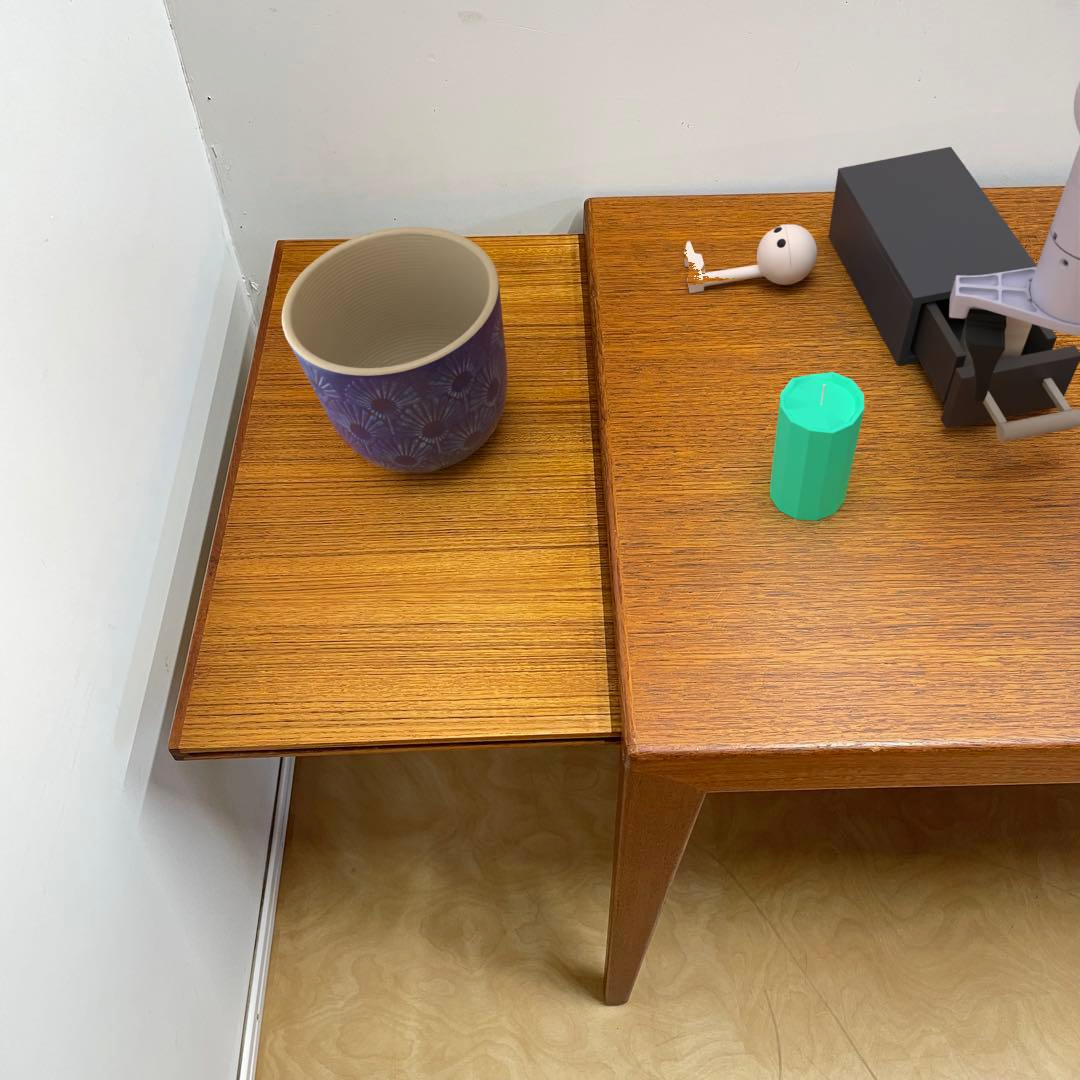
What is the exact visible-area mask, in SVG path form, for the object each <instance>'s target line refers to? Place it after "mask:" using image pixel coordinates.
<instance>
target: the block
mask: <svg viewBox="0 0 1080 1080" xmlns="http://www.w3.org/2000/svg"><path fill="white" fill-rule="evenodd" d="M1006 324H1007V326H1006V329H1005V350H1004V352H1003V353H1002V355H1001V356H1000V358H999V360H1002V359H1007V358H1012V357H1017V356H1021V353H1022V350H1023V348H1024V345H1025V342H1026V340H1027V337H1028V334H1029V332H1030V329H1031V326H1032V324H1031V323H1028V322H1024V321H1021V320H1018V319H1015V318H1011V317H1008V316H1006ZM959 343H960V344H961V346H962V348H963V349H964V351H965V353H966V355H967V356H966V359H965V362H964V365H963V367H965V366H971V365H973V361H972V358H971V355H970V353H969V351H968V349H967V345H966V340H965V326H964V329H963V332H962V336H961V339H960V342H959Z"/></svg>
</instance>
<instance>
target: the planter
mask: <svg viewBox="0 0 1080 1080" xmlns="http://www.w3.org/2000/svg"><path fill="white" fill-rule="evenodd" d="M497 271H498V270H497V269H496V266H495V264H494V262H493V260H492V259H491V258H490V256H489V255H488V253H487V252H485V250H484V249H482V248H481V247H480V246H479V245H477V244H476V242H474V241H473V240H470V239H469V238H467V237H465V236H462V235H461V234H459V233H455V232H452V231H450V230H444V229H441V228H434V227H427V226H426V227H425V226H402V227H393V228H385V229H380V230H377V231H373V232H372V231H371V232H368V233H365V234H363V235H362V234H361V235H359V236H357V237H353V238H351V239H349V240H346V241H344V242H342V243H340V244H338V245H336V246H334V247H333V248H331V249H329V250H327V251H326V252H324V253H323V254H321V255H320V256H319V257H317V258H316V259H315V260H313V261H312V262H311V263H310V264H309V265H308V266H306V267H305V268H304V269H303V271H302V272H301V273H300V274H299V275H298V277H296V279H295V280H294V281H293V283H292V285H291V287H289V290H288V292H287V294H286V296H285V299H284V303H283V305H282V311H281V325H282V331H283V333H284V337H285V339H286V341H287V343H288V345H289V346H290V348H291V350H292V352H293V354H294V356H295V358H296V359H297V361H298V363H299V365H300V368H301V369H302V371H303V372H304V374H305V376H306V378H307V381H308V382H309V384H310V385H311V388H312V390H313V391H314V393H315V395H316V397H317V399H318V400H319V402H320V405H321V406H322V408H323V410H324V412H325V414H326V416H327V418H328V419H329V420H330V423H331V425H332V426H333V428H334V430H335V431H336V433H337V434H338V436H339V437H340V438H341V439H342V440H343V441H344V442H345V444H346V445H348V446H349V448H351V450H353V451H354V452H355V453H356V454H357V455H358V456H360V457H362V459H364V460H366V461H368V463H371V464H373V465H374V466H378V468H379V467H380V468H382V469H385V470H389V471H393V472H399V473H406V474H407V473H409V474H414V473H415V474H422V473H429V472H430V473H431V472H434V471H439V470H443V469H445V468H449V467H451V466H454V465H456V464H458V463H460V462H462V461H463V460H466V458H468V457H470V456H471V455H472V454H474V453H475V452H476V451H478V450H479V449H480V448H481V447H482V446H483V445H484V444H485V443H487V441H488V440H489V438H490V437H491V436H492V434H493V433H494V431H495V430H496V428H497V426H498V424H499V422H500V420H501V417H502V416H503V412H504V409H505V405H506V402H507V397H508V385H509V377H508V376H509V375H508V373H509V372H508V361H507V350H506V341H505V331H504V320H503V310H502V300H501V299H502V298H501V287H500V279H499V275H498V272H497Z"/></svg>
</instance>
